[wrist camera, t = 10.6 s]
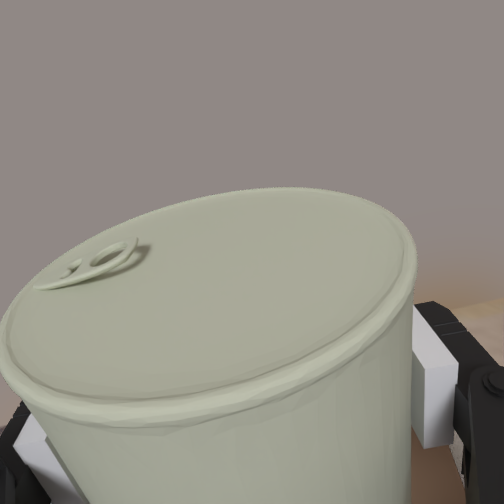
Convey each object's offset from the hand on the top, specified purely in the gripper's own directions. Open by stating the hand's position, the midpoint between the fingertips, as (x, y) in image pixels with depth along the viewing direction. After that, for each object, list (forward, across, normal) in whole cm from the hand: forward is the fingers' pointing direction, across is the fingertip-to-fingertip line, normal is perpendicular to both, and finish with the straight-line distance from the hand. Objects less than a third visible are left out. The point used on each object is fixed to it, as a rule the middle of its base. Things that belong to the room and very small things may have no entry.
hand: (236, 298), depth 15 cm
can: (-5, 0, -7) cm, 9 cm away
